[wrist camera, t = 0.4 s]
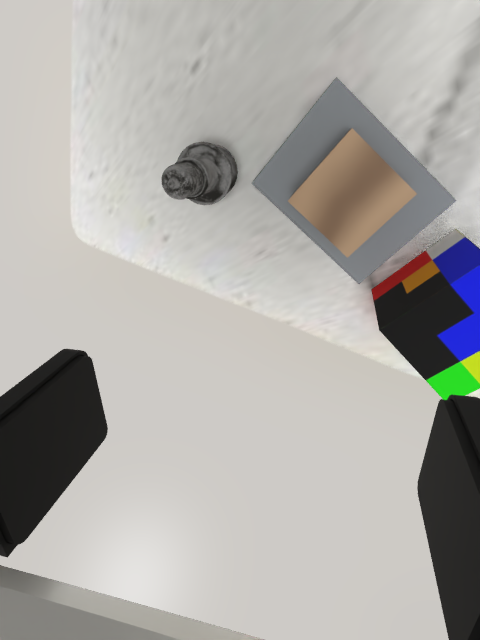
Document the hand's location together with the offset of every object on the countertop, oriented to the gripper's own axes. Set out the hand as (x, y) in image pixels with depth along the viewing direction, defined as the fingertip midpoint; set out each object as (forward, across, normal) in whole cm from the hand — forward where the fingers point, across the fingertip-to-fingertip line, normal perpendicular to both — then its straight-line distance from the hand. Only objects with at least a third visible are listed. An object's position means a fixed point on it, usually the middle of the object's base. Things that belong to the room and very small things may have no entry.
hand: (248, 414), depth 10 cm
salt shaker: (+34, +11, -4) cm, 36 cm away
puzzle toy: (+34, -14, +9) cm, 38 cm away
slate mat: (+34, -3, -2) cm, 34 cm away
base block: (+33, -3, -2) cm, 33 cm away
